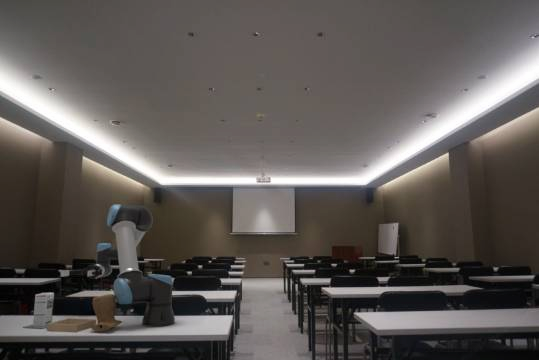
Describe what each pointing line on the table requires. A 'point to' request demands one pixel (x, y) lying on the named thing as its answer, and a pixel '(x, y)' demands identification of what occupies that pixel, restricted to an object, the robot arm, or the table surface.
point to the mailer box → (71, 325)
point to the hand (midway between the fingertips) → (74, 273)
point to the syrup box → (43, 309)
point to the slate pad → (36, 327)
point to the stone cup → (105, 312)
